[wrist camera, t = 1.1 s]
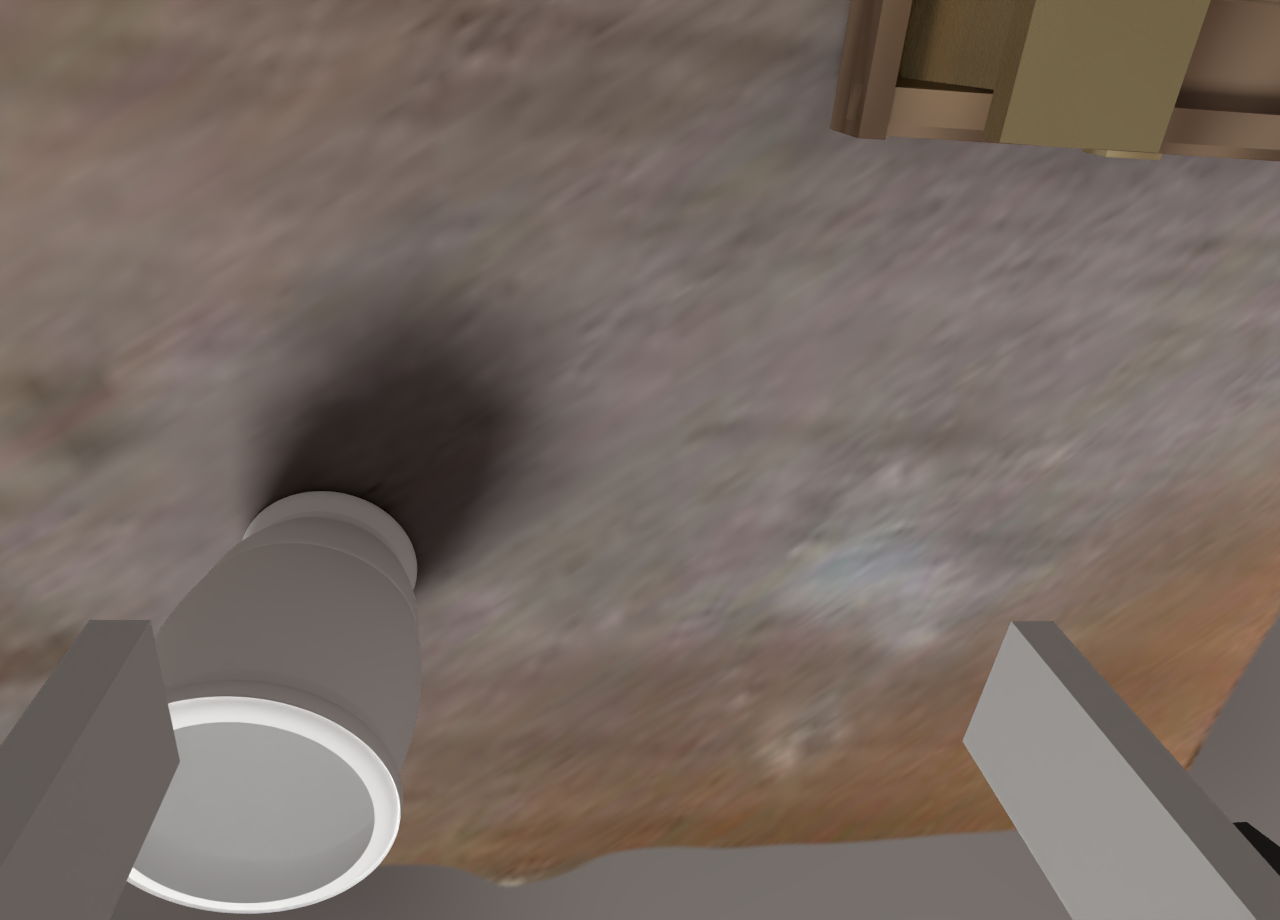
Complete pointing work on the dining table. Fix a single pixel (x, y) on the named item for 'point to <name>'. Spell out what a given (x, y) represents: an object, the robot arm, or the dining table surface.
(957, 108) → the brown long rectangular frame
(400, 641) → the jar
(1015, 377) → the dining table surface
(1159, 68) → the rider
